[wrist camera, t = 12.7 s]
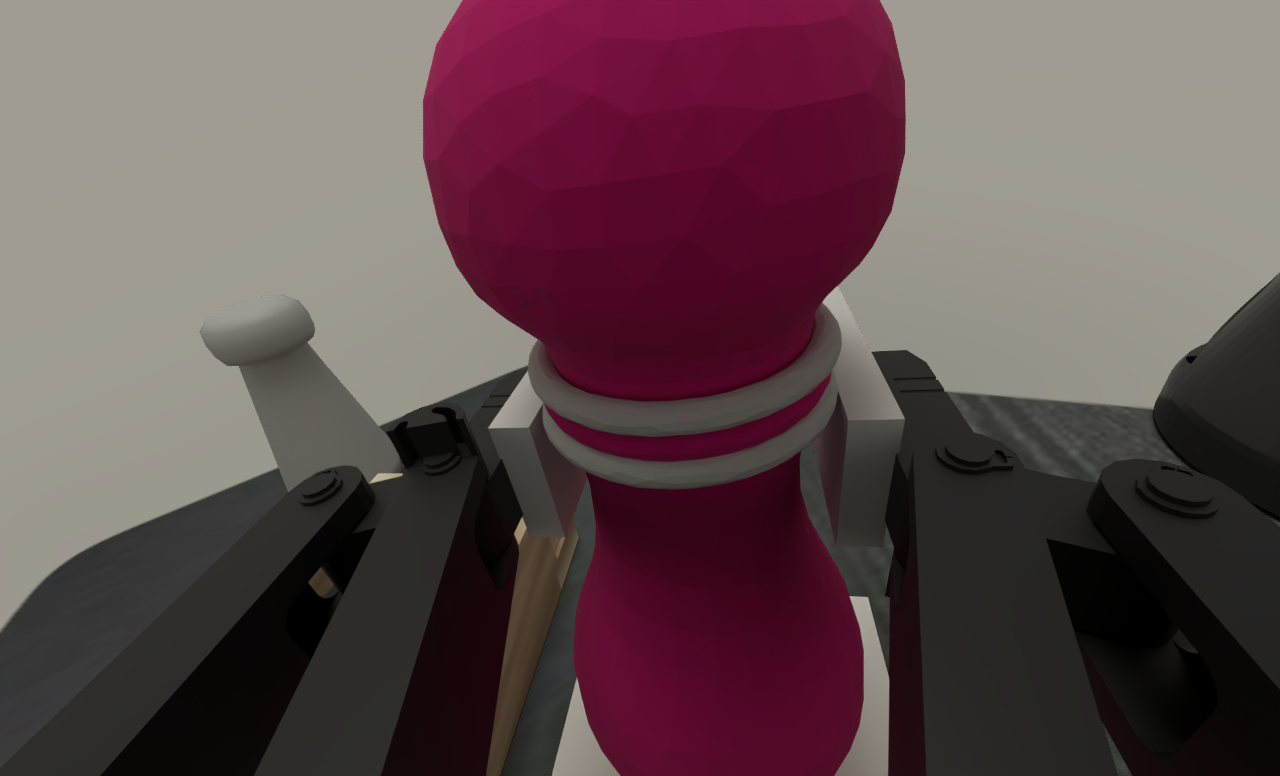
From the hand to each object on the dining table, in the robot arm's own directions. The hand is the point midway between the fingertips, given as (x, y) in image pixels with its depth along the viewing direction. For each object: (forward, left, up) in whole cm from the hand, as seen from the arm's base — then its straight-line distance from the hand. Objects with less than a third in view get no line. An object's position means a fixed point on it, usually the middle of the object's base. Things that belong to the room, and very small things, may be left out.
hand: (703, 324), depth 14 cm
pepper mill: (0, +5, -11) cm, 12 cm away
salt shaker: (+22, -5, -13) cm, 26 cm away
